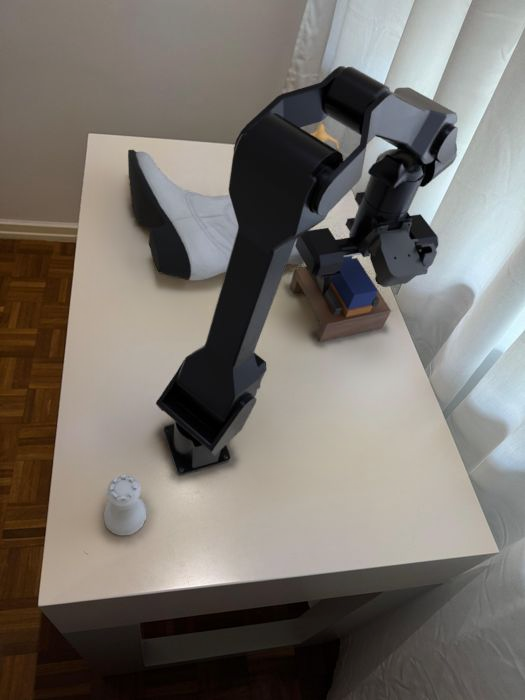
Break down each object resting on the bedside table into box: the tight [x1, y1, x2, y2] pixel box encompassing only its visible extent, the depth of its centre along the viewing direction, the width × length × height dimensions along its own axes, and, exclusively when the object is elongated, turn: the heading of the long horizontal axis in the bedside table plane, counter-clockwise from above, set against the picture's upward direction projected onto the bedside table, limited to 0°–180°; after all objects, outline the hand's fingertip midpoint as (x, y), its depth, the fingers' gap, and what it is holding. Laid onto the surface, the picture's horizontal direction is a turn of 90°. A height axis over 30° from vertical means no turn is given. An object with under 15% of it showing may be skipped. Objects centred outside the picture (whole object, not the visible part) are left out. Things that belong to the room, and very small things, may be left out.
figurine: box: [310, 123, 340, 151], centre depth 99 cm, size 8×6×12 cm
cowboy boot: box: [127, 149, 312, 282], centre depth 90 cm, size 10×28×25 cm
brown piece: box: [289, 256, 392, 343], centre depth 84 cm, size 11×11×6 cm
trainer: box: [329, 257, 379, 317], centre depth 81 cm, size 9×4×4 cm, turn 22°
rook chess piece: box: [103, 474, 147, 536], centre depth 59 cm, size 4×4×8 cm
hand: (350, 287), depth 81 cm, fingers open, 9 cm apart
